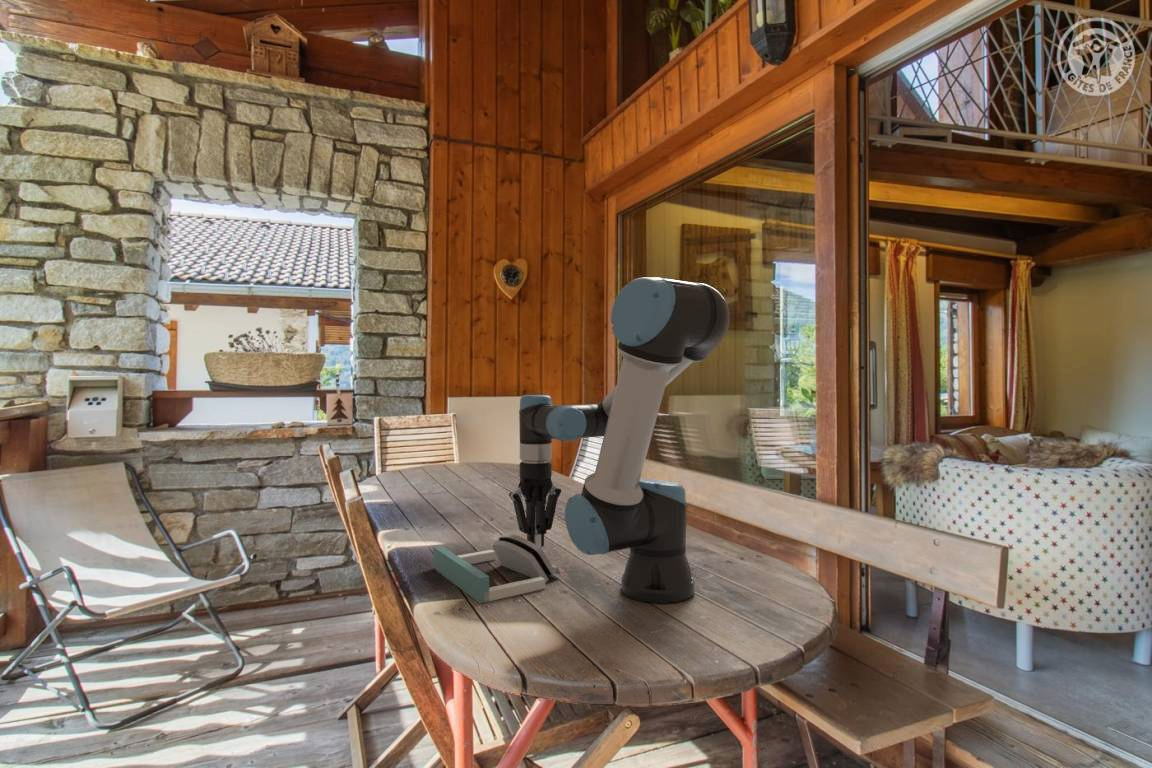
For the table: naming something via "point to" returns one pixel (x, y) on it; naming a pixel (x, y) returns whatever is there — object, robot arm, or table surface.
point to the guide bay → (478, 575)
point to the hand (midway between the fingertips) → (535, 561)
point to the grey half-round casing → (523, 557)
